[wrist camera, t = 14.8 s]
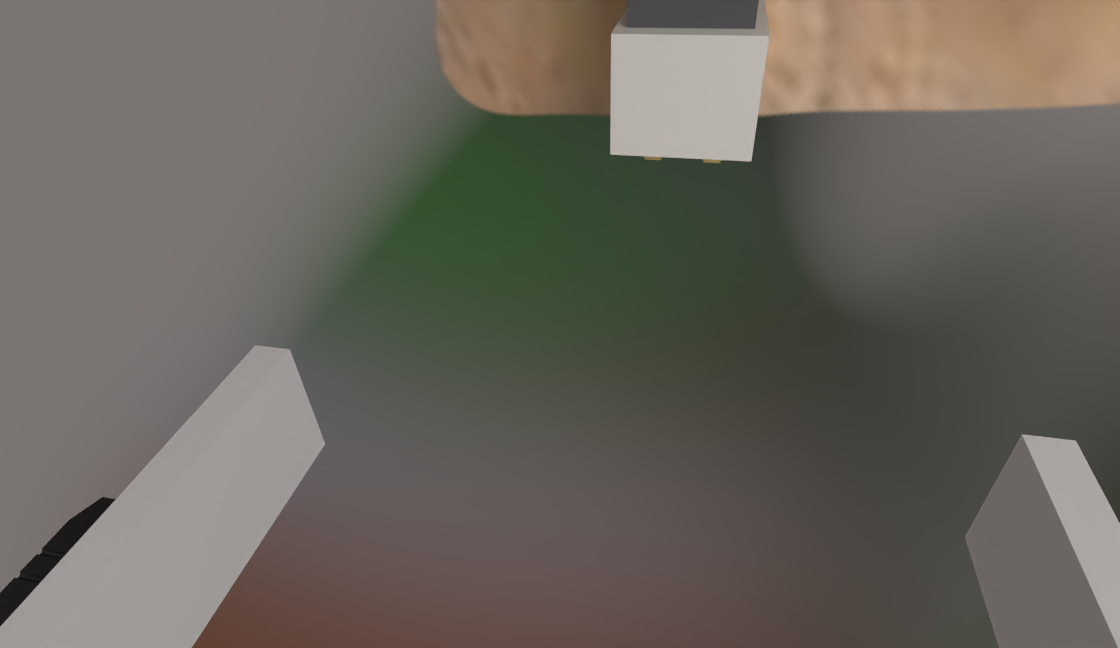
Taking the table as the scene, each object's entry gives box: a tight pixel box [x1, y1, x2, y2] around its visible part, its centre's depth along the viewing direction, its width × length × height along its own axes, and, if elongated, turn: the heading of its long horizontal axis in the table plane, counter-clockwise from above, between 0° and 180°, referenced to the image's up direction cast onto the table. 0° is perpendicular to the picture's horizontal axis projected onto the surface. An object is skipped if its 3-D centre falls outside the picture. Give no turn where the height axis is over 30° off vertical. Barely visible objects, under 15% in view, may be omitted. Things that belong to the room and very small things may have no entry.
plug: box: [610, 0, 769, 163], centre depth 28 cm, size 14×6×8 cm, turn 2°
